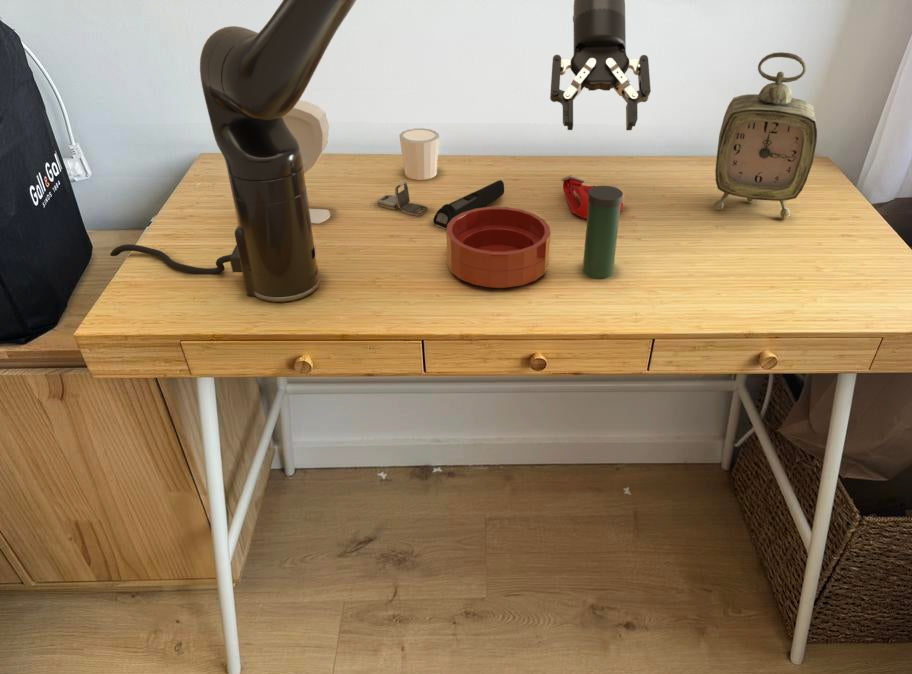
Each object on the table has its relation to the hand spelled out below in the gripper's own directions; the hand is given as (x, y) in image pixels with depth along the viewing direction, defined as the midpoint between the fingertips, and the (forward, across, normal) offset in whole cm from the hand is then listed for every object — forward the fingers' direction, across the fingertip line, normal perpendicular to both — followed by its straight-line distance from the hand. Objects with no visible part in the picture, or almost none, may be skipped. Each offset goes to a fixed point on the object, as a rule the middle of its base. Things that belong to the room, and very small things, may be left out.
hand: (600, 128), depth 117 cm
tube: (+20, 0, +3) cm, 20 cm away
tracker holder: (+5, 0, +19) cm, 20 cm away
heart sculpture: (+9, -49, +14) cm, 51 cm away
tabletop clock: (+6, +27, +20) cm, 34 cm away
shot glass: (-3, -29, +27) cm, 40 cm away
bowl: (+20, -15, +3) cm, 25 cm away
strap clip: (+7, -31, +17) cm, 36 cm away
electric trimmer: (+7, -20, +16) cm, 27 cm away
